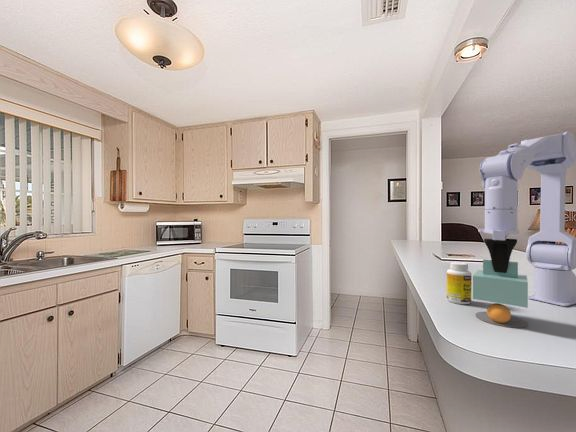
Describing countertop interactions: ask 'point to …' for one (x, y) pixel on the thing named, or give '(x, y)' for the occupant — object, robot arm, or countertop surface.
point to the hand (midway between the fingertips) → (500, 271)
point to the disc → (512, 323)
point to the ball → (498, 313)
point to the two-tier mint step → (501, 285)
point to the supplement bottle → (459, 283)
